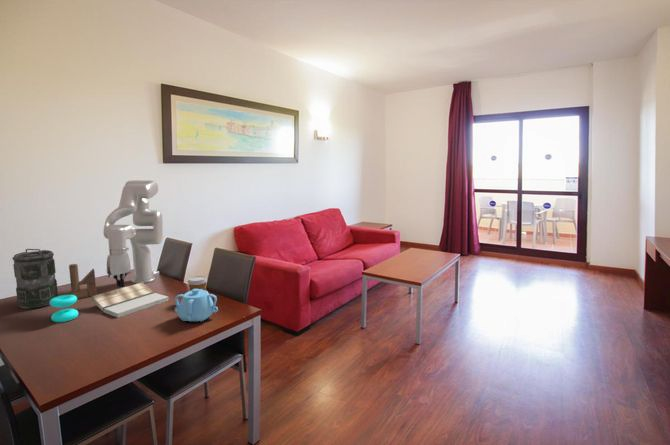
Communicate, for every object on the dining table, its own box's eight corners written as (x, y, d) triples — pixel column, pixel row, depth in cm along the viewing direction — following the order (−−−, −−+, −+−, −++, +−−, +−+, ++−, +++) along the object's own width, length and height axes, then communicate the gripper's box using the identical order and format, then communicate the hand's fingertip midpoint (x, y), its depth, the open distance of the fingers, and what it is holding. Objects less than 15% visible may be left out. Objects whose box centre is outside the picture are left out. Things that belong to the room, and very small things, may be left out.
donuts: (82, 294, 171) (63, 302, 161) (84, 315, 172) (65, 324, 162) (63, 293, 172) (43, 300, 162) (65, 313, 174) (45, 322, 164)
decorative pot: (172, 316, 172) (170, 288, 170) (206, 308, 182) (205, 281, 180) (185, 328, 160) (183, 298, 158) (220, 318, 170) (219, 290, 168)
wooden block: (96, 295, 198) (93, 262, 195) (72, 299, 191) (68, 266, 188) (95, 293, 201) (92, 261, 198) (71, 297, 194) (68, 264, 191)
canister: (9, 309, 177) (2, 252, 173) (35, 297, 193) (29, 245, 189) (42, 309, 177) (36, 252, 173) (66, 298, 193) (60, 245, 189)
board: (154, 296, 198) (154, 291, 197) (168, 300, 192) (168, 295, 191) (103, 312, 176) (103, 307, 175) (118, 317, 170) (117, 312, 169)
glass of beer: (197, 296, 198) (196, 274, 196) (212, 298, 195) (211, 276, 193) (184, 302, 189) (183, 279, 187) (199, 305, 186) (198, 282, 184)
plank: (142, 285, 202) (142, 282, 202) (153, 295, 198) (153, 291, 198) (91, 299, 180) (91, 296, 180) (102, 311, 176) (102, 307, 175)
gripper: (128, 248, 195) (130, 281, 197) (98, 253, 182) (101, 289, 185) (136, 249, 191) (139, 284, 194) (106, 255, 178) (109, 292, 181)
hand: (120, 286), depth 189 cm, fingers closed
